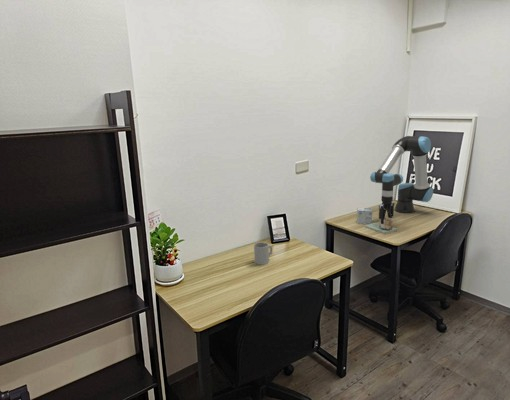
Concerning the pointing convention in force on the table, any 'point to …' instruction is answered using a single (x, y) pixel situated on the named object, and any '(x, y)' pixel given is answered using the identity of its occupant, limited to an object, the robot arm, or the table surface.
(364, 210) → the light bulb box
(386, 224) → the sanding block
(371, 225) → the board
